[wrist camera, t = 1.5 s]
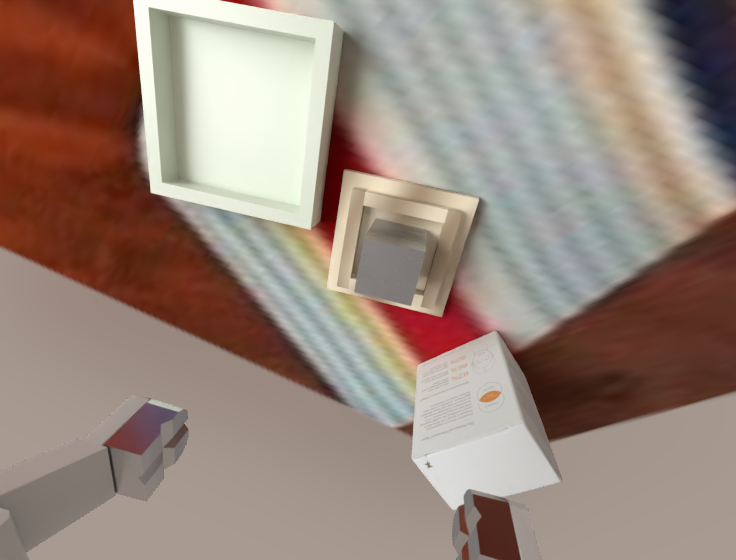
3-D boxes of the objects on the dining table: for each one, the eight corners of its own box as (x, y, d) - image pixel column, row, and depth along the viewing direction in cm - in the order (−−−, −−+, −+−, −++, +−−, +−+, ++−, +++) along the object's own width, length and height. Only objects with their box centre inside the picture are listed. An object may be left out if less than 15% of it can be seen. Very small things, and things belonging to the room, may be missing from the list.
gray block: (427, 229, 27) (425, 251, 22) (414, 276, 28) (411, 306, 24) (375, 218, 27) (364, 237, 22) (366, 265, 29) (354, 292, 24)
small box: (446, 404, 34) (450, 513, 25) (415, 362, 33) (408, 460, 23) (526, 375, 31) (566, 485, 22) (497, 327, 30) (525, 423, 20)
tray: (343, 31, 23) (333, 21, 21) (320, 221, 29) (310, 229, 26) (160, -3, 24) (132, -16, 22) (172, 187, 30) (150, 192, 27)
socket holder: (478, 197, 26) (480, 202, 24) (441, 312, 30) (441, 323, 29) (346, 168, 27) (340, 171, 25) (329, 284, 31) (323, 293, 29)
